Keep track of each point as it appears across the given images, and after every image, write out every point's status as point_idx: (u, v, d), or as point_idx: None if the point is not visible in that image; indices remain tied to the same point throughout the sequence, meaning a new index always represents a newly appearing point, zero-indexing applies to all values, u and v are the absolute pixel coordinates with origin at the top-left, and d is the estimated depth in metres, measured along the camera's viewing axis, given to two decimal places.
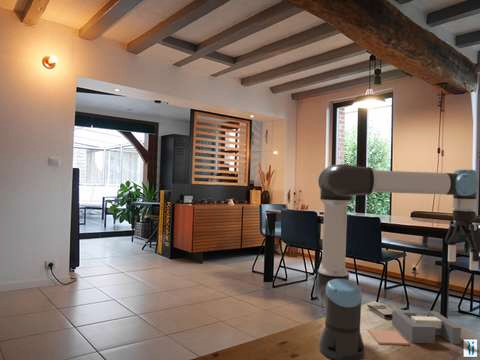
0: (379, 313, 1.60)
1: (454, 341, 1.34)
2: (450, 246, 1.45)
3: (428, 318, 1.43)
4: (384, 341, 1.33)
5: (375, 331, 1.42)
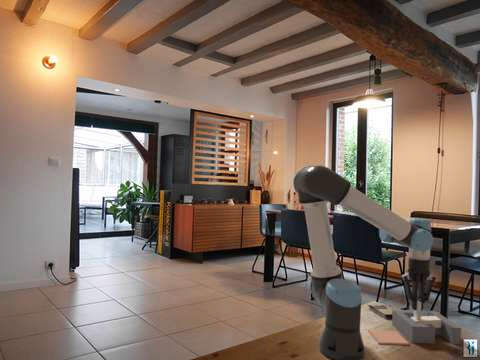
0: (380, 313, 1.60)
1: (454, 341, 1.34)
2: None
3: (428, 318, 1.43)
4: (384, 341, 1.33)
5: (375, 331, 1.42)
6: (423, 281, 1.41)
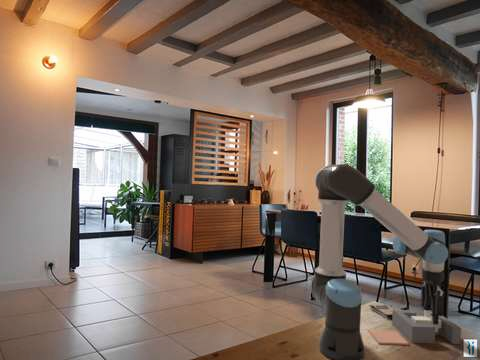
0: (382, 313, 1.60)
1: (454, 341, 1.34)
2: (426, 312, 1.45)
3: (428, 318, 1.43)
4: (384, 341, 1.33)
5: (375, 331, 1.42)
6: None
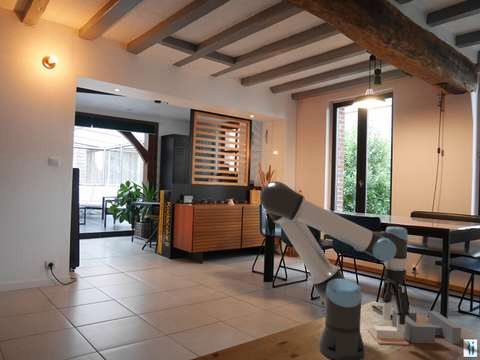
0: None
1: (454, 341, 1.34)
2: (385, 304, 1.43)
3: (391, 328, 1.38)
4: (384, 341, 1.33)
5: None
6: None
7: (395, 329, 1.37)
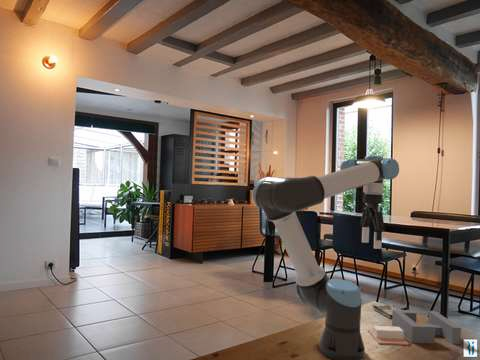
0: (385, 313, 1.60)
1: (454, 341, 1.34)
2: (363, 228, 1.56)
3: (391, 328, 1.38)
4: (384, 341, 1.33)
5: None
6: None
7: (395, 329, 1.37)
